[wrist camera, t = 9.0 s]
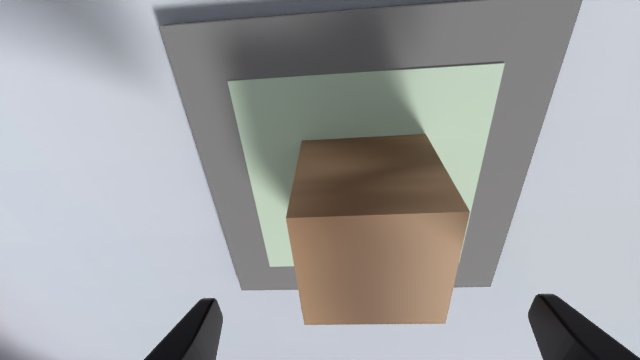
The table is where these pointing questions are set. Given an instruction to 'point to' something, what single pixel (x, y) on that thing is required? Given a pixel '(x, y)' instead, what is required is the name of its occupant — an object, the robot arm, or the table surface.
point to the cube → (374, 231)
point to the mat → (368, 108)
